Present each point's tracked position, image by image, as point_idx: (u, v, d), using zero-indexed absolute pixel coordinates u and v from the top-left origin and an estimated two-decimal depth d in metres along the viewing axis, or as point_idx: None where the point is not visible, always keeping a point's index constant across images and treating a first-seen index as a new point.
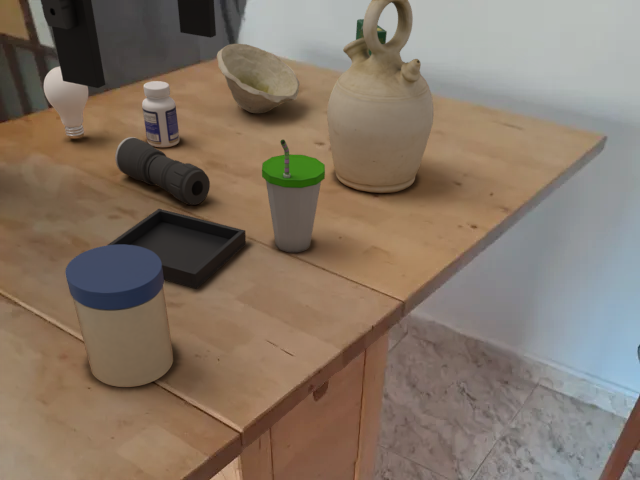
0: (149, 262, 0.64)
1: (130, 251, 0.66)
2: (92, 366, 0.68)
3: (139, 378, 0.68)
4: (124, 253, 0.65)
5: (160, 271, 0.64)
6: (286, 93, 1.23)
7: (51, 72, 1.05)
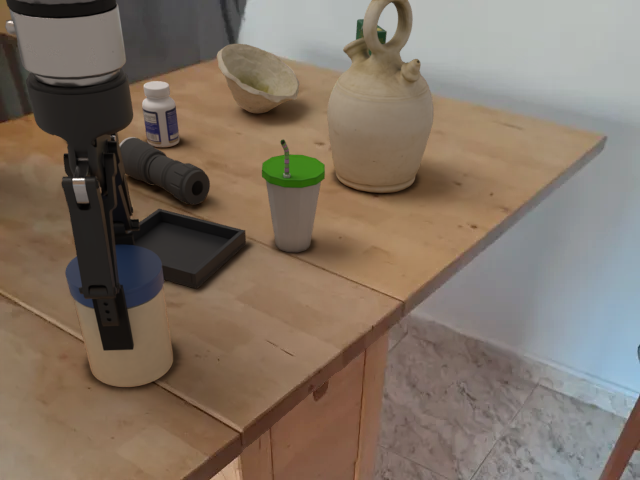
0: (149, 262, 0.64)
1: (130, 251, 0.66)
2: (92, 366, 0.68)
3: (139, 378, 0.68)
4: (124, 253, 0.65)
5: (160, 271, 0.64)
6: (286, 93, 1.23)
7: None
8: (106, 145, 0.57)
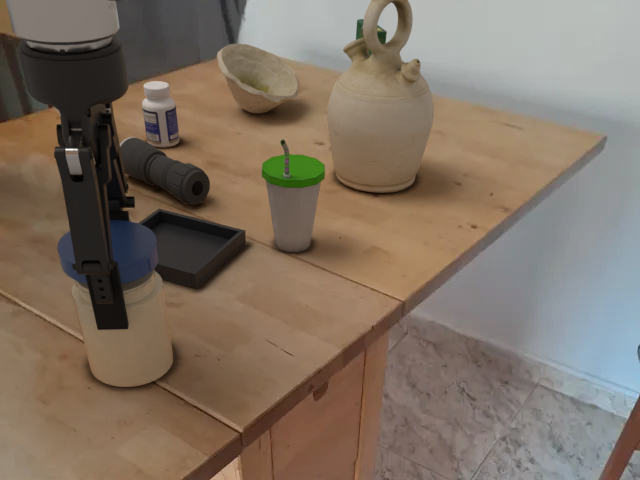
0: (70, 246, 0.61)
1: None
2: (92, 366, 0.68)
3: (139, 378, 0.68)
4: None
5: None
6: (286, 93, 1.23)
7: None
8: None
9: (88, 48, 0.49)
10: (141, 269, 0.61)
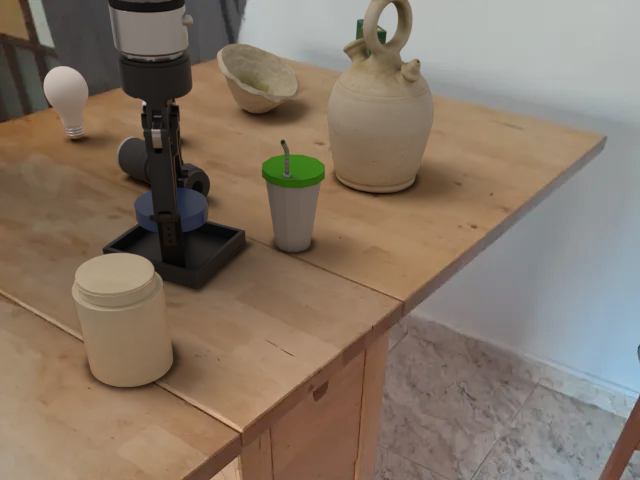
0: (143, 205, 0.82)
1: None
2: (92, 366, 0.68)
3: (139, 378, 0.68)
4: None
5: None
6: (286, 93, 1.23)
7: (51, 72, 1.05)
8: None
9: (168, 59, 0.70)
10: (197, 222, 0.82)
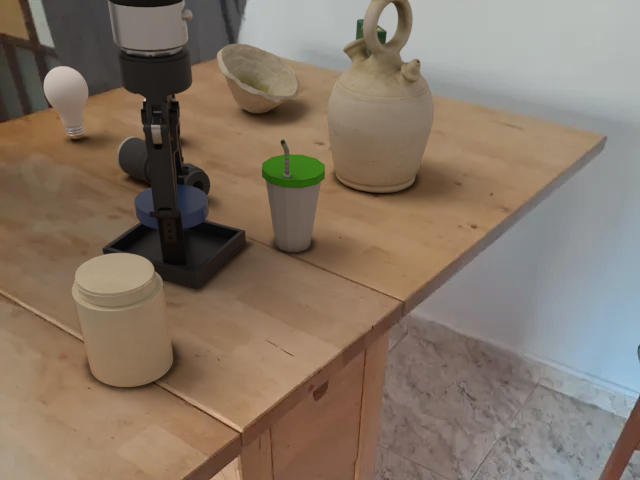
0: (143, 202, 0.82)
1: None
2: (92, 366, 0.68)
3: (139, 378, 0.68)
4: None
5: None
6: (286, 93, 1.23)
7: (51, 72, 1.05)
8: None
9: (168, 54, 0.69)
10: (197, 218, 0.81)
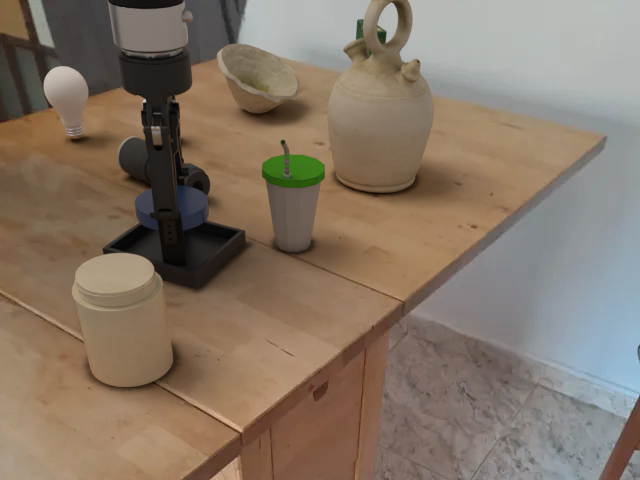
0: (144, 203, 0.82)
1: None
2: (92, 366, 0.68)
3: (139, 378, 0.68)
4: None
5: None
6: (286, 93, 1.23)
7: (51, 72, 1.05)
8: None
9: (168, 55, 0.70)
10: (197, 219, 0.81)
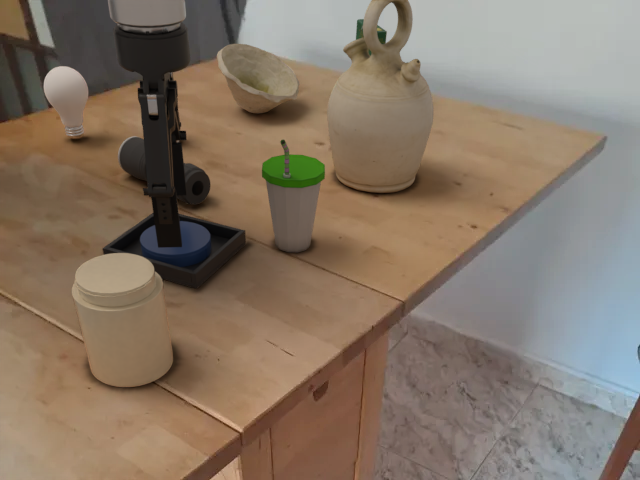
0: (149, 240, 0.85)
1: (164, 248, 0.84)
2: (92, 366, 0.68)
3: (139, 378, 0.68)
4: (168, 247, 0.84)
5: (141, 236, 0.86)
6: (286, 93, 1.23)
7: (51, 72, 1.05)
8: None
9: (165, 30, 0.68)
10: (200, 256, 0.85)
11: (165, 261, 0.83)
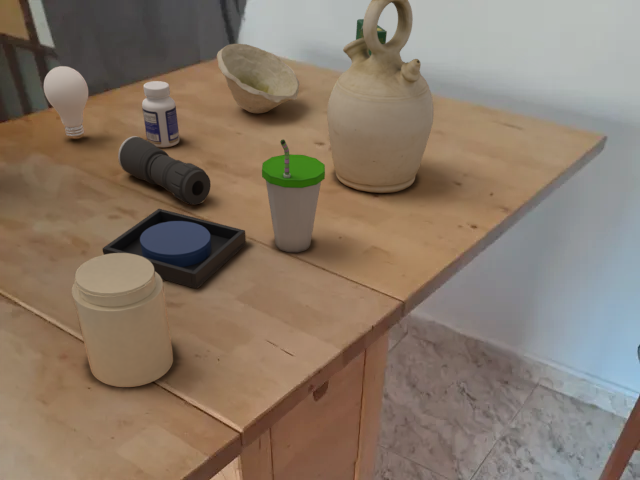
0: (149, 240, 0.85)
1: (164, 248, 0.84)
2: (92, 366, 0.68)
3: (139, 378, 0.68)
4: (168, 247, 0.84)
5: (141, 236, 0.86)
6: (286, 93, 1.23)
7: (51, 72, 1.05)
8: None
9: None
10: (200, 256, 0.85)
11: (165, 261, 0.83)
